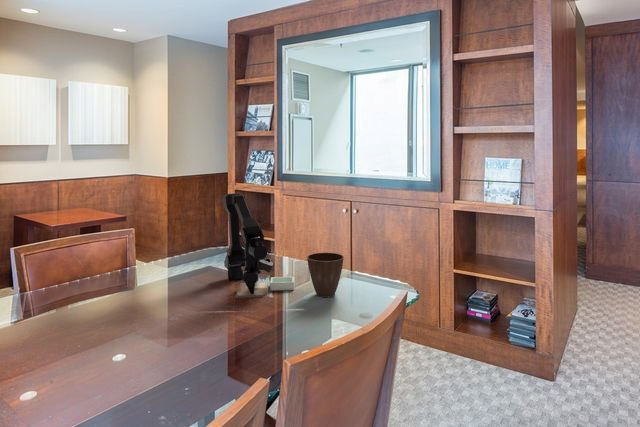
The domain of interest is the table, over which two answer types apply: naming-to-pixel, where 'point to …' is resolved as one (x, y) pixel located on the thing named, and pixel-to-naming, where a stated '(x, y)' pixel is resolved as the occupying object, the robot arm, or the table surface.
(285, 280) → the dish
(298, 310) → the table surface
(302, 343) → the table surface
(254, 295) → the mat
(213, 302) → the table surface
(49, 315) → the table surface
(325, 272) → the plant pot
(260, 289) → the lid
